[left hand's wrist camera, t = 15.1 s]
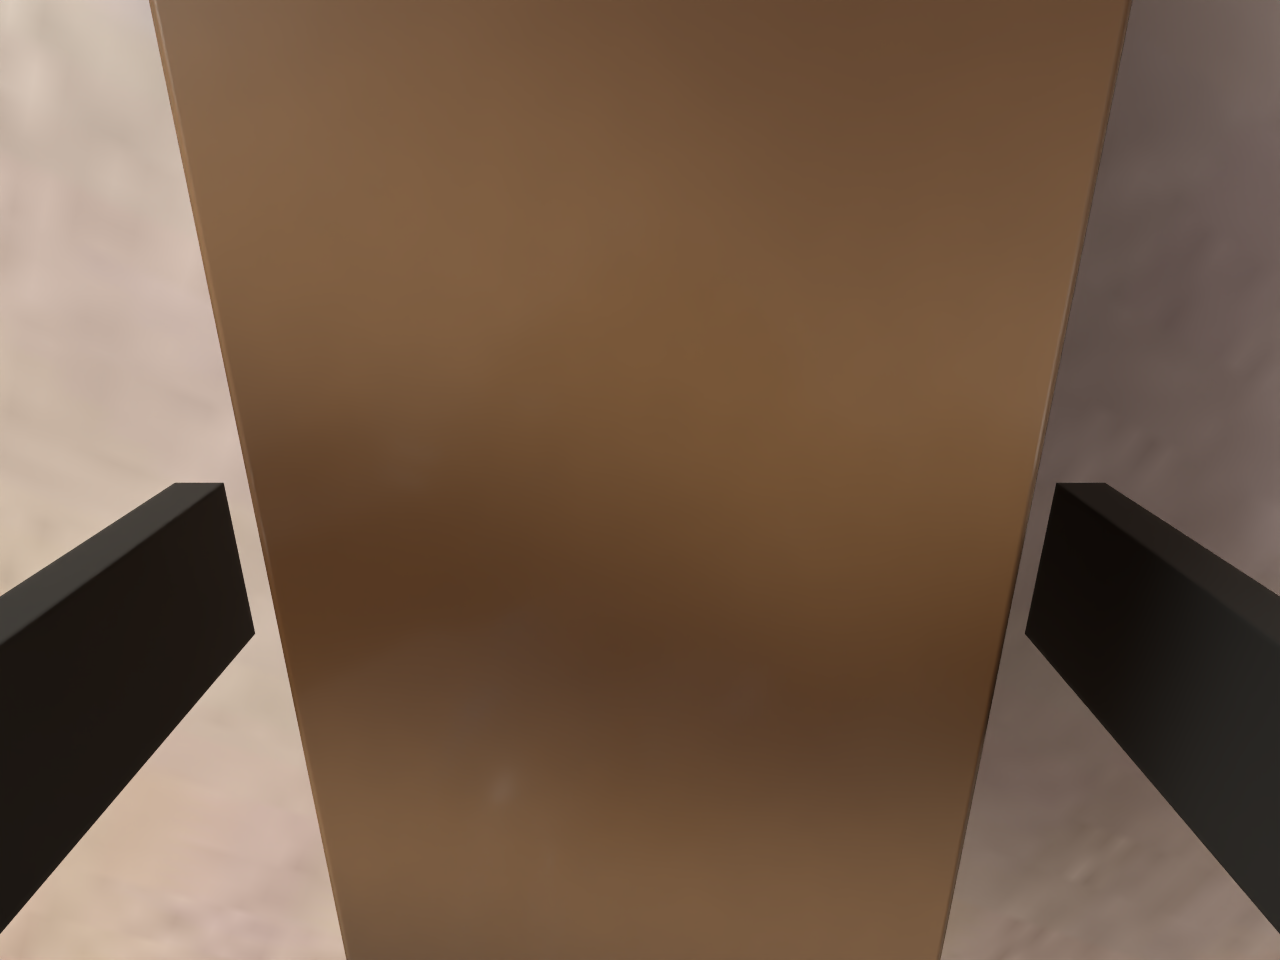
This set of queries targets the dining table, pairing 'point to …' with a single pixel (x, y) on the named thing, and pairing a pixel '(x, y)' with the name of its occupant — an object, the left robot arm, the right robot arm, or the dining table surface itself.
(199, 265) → the dining table surface
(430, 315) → the box
